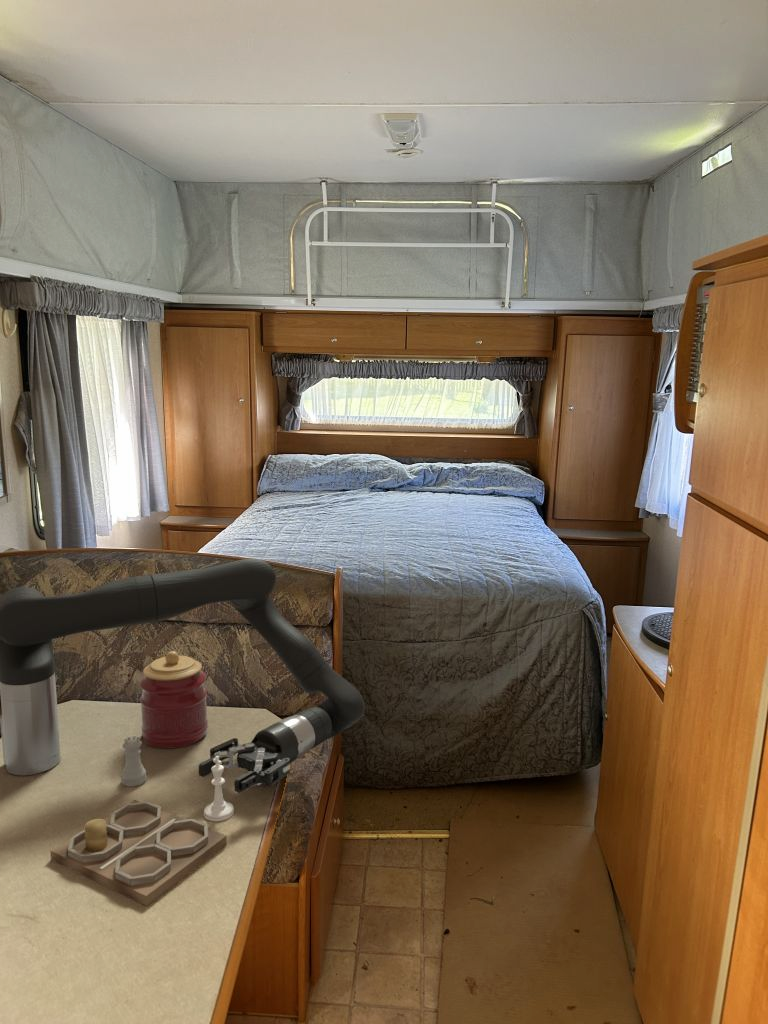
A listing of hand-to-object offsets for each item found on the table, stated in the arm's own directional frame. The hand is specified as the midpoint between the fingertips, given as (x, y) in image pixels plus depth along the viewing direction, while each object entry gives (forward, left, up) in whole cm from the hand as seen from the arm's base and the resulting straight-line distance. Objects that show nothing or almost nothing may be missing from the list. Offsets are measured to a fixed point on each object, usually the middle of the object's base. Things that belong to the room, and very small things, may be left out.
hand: (217, 779), depth 122 cm
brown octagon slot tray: (-3, -14, -6) cm, 16 cm away
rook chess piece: (-20, 0, -6) cm, 21 cm away
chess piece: (0, 0, -6) cm, 6 cm away
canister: (-27, +17, -6) cm, 32 cm away
